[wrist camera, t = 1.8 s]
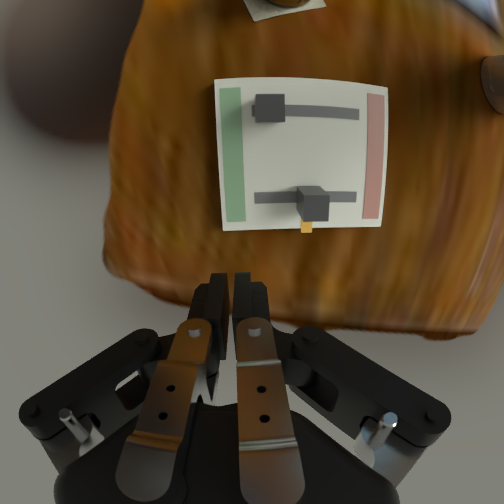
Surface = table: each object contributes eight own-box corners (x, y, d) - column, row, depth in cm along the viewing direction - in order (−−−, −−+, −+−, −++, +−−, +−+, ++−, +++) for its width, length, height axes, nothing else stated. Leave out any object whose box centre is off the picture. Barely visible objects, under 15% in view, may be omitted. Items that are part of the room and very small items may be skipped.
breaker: (279, 98, 25) (284, 93, 21) (280, 122, 26) (285, 122, 22) (254, 98, 25) (255, 94, 21) (255, 122, 26) (256, 122, 22)
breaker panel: (379, 89, 26) (388, 87, 24) (373, 224, 33) (380, 230, 31) (216, 82, 26) (214, 79, 24) (224, 228, 33) (223, 235, 31)
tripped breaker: (319, 185, 28) (329, 195, 25) (318, 208, 29) (328, 221, 26) (296, 185, 28) (303, 195, 25) (296, 209, 29) (303, 221, 26)
